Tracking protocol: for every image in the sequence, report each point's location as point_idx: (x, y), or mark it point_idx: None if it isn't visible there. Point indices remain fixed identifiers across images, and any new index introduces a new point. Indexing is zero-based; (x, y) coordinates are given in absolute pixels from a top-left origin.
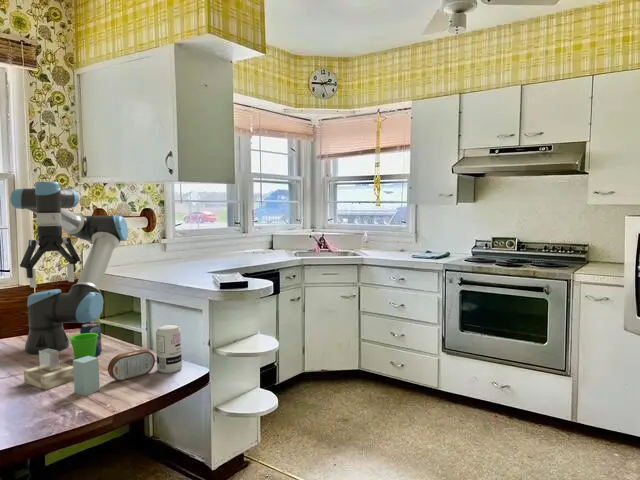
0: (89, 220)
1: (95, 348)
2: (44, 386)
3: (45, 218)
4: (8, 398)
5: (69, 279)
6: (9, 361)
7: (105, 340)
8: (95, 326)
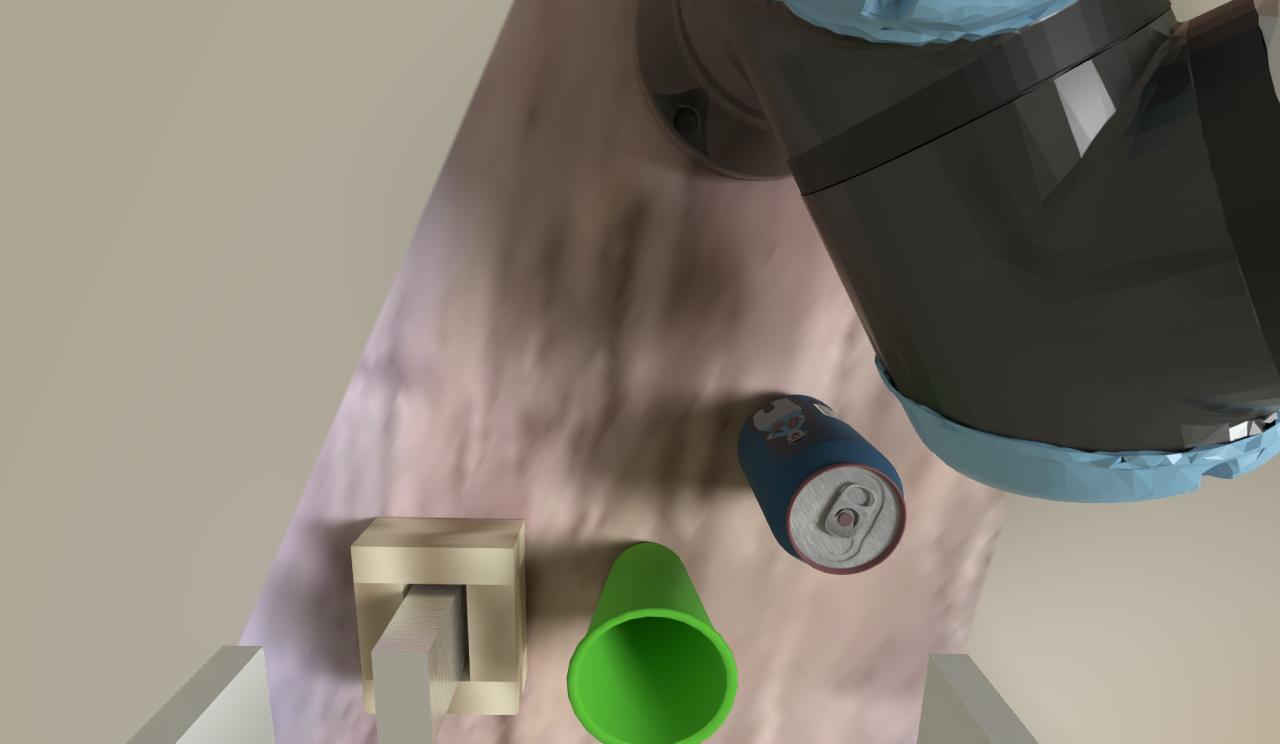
0: None
1: (684, 673)
2: None
3: None
4: (256, 629)
5: (940, 732)
6: (495, 98)
7: None
8: (843, 569)
